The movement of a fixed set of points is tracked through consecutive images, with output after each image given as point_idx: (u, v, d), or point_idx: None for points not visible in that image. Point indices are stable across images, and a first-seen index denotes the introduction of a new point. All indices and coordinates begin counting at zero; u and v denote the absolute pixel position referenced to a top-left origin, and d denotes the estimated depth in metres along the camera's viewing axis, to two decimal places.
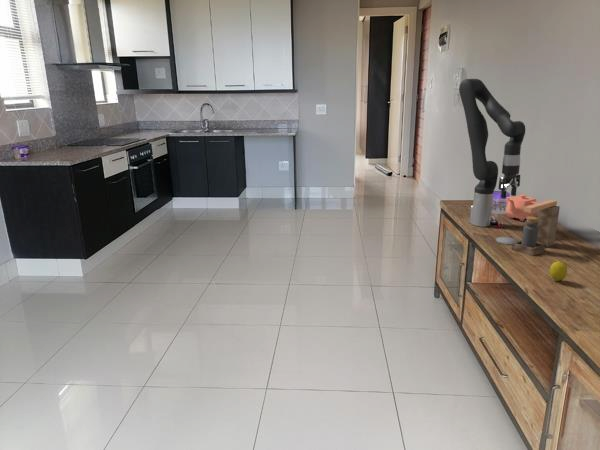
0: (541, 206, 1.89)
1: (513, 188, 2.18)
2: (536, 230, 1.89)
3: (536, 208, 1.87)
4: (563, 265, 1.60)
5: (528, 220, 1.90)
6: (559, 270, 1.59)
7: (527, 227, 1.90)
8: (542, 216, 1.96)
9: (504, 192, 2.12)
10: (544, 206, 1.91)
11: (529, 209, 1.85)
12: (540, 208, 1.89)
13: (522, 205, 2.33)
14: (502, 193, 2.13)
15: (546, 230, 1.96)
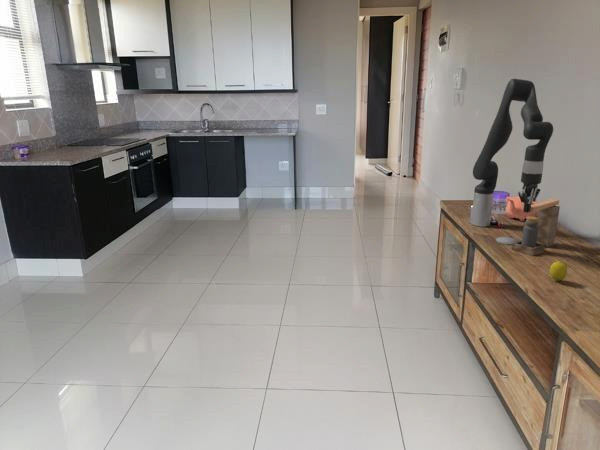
0: (543, 205, 1.90)
1: None
2: (536, 230, 1.89)
3: (538, 207, 1.88)
4: (563, 265, 1.60)
5: (528, 220, 1.90)
6: (559, 270, 1.59)
7: (527, 227, 1.90)
8: (542, 216, 1.96)
9: (527, 205, 1.85)
10: (546, 205, 1.92)
11: (531, 208, 1.86)
12: (542, 207, 1.90)
13: (522, 205, 2.33)
14: (525, 206, 1.85)
15: (546, 230, 1.96)
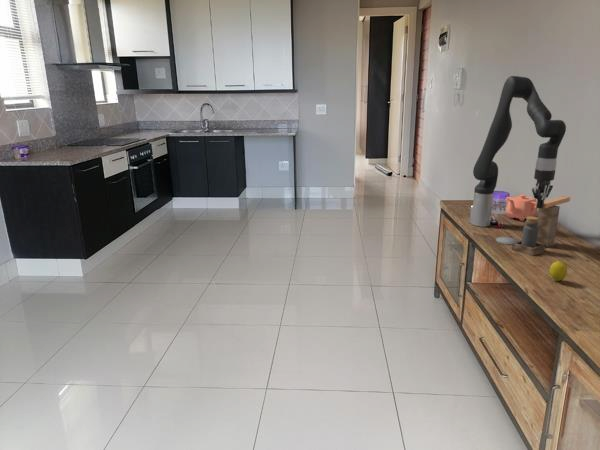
0: (555, 202, 1.95)
1: None
2: (536, 230, 1.89)
3: (550, 204, 1.93)
4: (563, 265, 1.60)
5: (528, 220, 1.90)
6: (559, 270, 1.59)
7: (527, 227, 1.90)
8: (542, 216, 1.96)
9: (541, 201, 1.90)
10: (558, 202, 1.97)
11: (544, 205, 1.92)
12: (554, 204, 1.95)
13: (522, 205, 2.33)
14: (538, 202, 1.90)
15: (546, 230, 1.96)
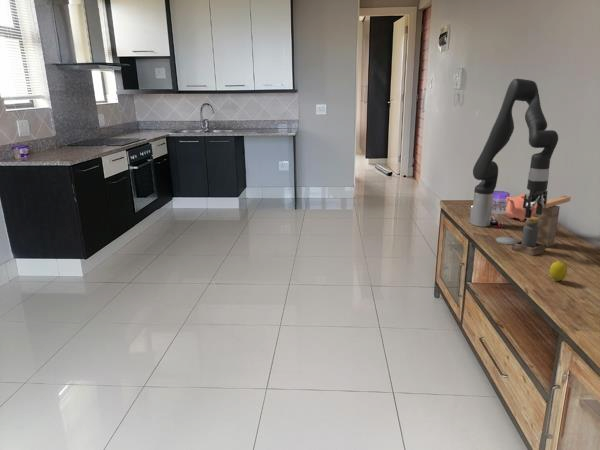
0: (556, 202, 1.96)
1: (539, 206, 1.91)
2: (536, 230, 1.89)
3: (551, 204, 1.94)
4: (563, 265, 1.60)
5: (528, 220, 1.90)
6: (559, 270, 1.59)
7: (527, 227, 1.90)
8: (542, 216, 1.96)
9: (529, 211, 1.86)
10: (558, 202, 1.97)
11: (544, 205, 1.92)
12: (555, 204, 1.96)
13: (522, 205, 2.33)
14: (527, 212, 1.86)
15: (546, 230, 1.96)
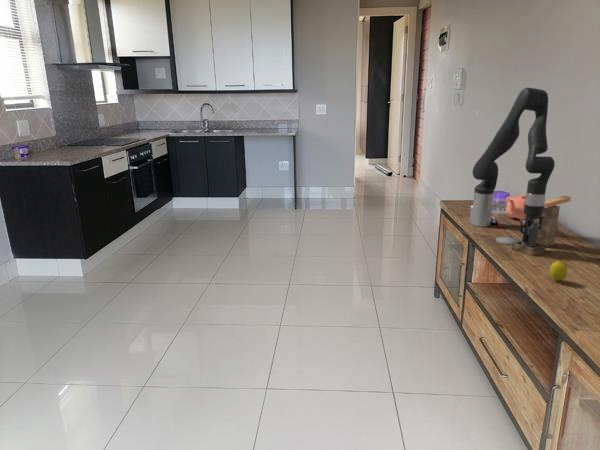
0: (556, 202, 1.96)
1: None
2: (536, 230, 1.89)
3: (551, 204, 1.94)
4: (563, 265, 1.60)
5: None
6: (559, 270, 1.59)
7: None
8: None
9: (526, 236, 1.90)
10: (559, 202, 1.97)
11: (545, 205, 1.92)
12: (555, 204, 1.96)
13: (522, 205, 2.33)
14: (524, 237, 1.90)
15: (546, 230, 1.96)
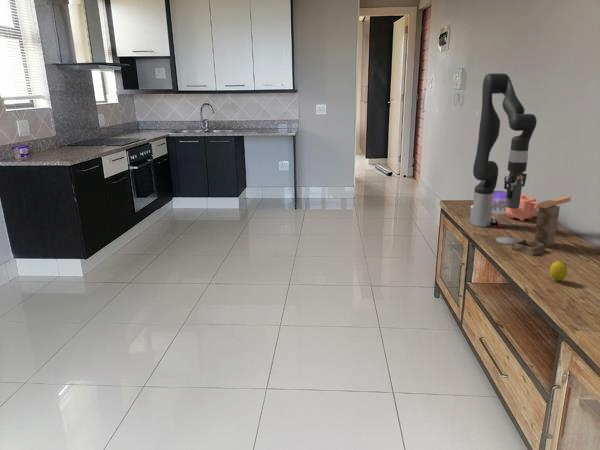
0: (556, 202, 1.96)
1: None
2: (519, 186, 1.96)
3: (551, 204, 1.94)
4: (563, 265, 1.60)
5: None
6: (559, 270, 1.59)
7: None
8: (542, 216, 1.96)
9: (510, 192, 1.97)
10: (559, 202, 1.97)
11: (545, 205, 1.92)
12: (555, 204, 1.96)
13: (522, 205, 2.33)
14: (508, 193, 1.97)
15: (546, 230, 1.96)
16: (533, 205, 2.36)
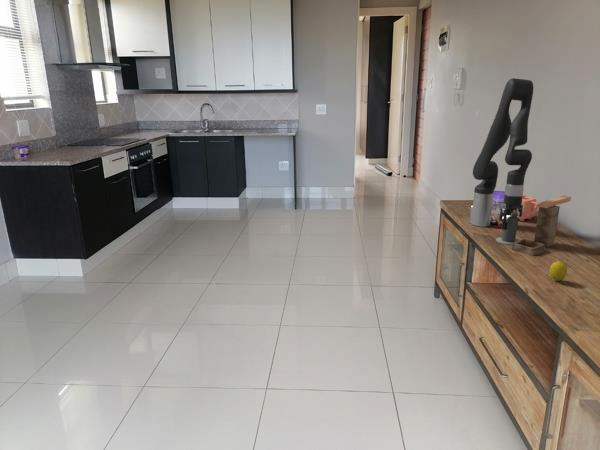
0: (556, 202, 1.96)
1: None
2: (515, 221, 2.01)
3: (551, 204, 1.94)
4: (563, 265, 1.60)
5: None
6: (559, 270, 1.59)
7: None
8: (542, 216, 1.96)
9: (505, 223, 2.00)
10: (559, 202, 1.97)
11: (545, 205, 1.92)
12: (555, 204, 1.96)
13: None
14: (503, 224, 2.01)
15: (546, 230, 1.96)
16: (533, 205, 2.36)
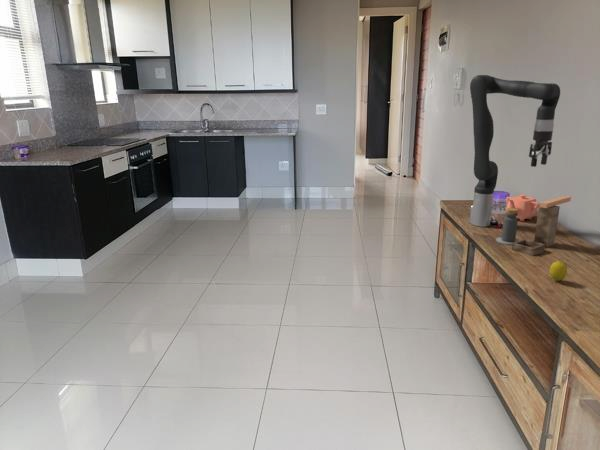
0: (556, 202, 1.96)
1: (544, 156, 2.05)
2: (515, 221, 2.01)
3: (551, 204, 1.94)
4: (563, 265, 1.60)
5: (508, 211, 2.01)
6: (559, 270, 1.59)
7: (507, 218, 2.02)
8: (542, 216, 1.96)
9: (535, 160, 2.00)
10: (559, 202, 1.97)
11: (545, 205, 1.92)
12: (555, 204, 1.96)
13: (522, 205, 2.33)
14: (532, 161, 2.00)
15: (546, 230, 1.96)
16: (533, 205, 2.36)
